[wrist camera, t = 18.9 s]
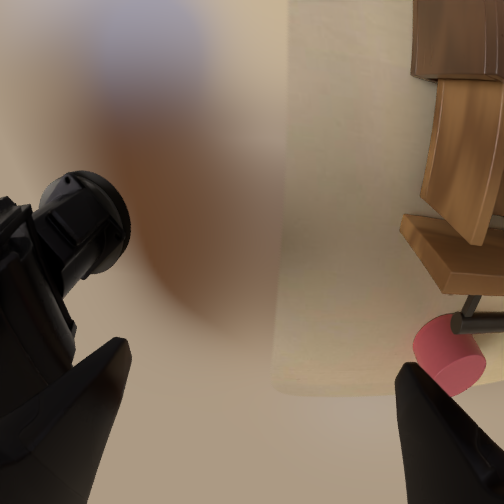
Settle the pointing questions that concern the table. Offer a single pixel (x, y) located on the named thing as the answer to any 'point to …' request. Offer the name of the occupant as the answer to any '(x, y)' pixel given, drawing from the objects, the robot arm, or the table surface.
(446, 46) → the cabinet
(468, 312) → the drawer
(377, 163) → the table surface
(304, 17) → the table surface
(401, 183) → the table surface
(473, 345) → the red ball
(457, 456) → the robot arm
